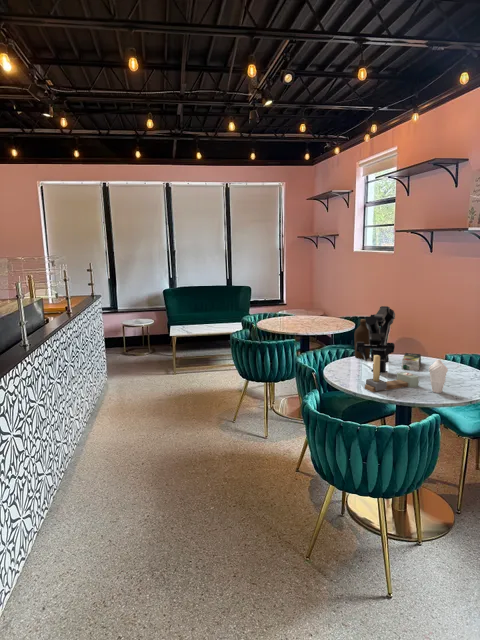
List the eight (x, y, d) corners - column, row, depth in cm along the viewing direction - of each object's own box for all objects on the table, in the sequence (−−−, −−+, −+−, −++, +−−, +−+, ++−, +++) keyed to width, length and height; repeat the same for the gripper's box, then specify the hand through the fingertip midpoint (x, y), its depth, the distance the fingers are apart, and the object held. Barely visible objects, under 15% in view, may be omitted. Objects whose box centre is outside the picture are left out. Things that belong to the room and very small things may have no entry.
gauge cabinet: (404, 381, 221) (404, 370, 221) (418, 386, 212) (418, 375, 211) (396, 382, 220) (397, 371, 219) (410, 387, 210) (410, 376, 210)
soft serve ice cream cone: (445, 395, 198) (447, 362, 196) (426, 392, 202) (427, 360, 200) (447, 390, 205) (449, 358, 203) (429, 387, 209) (430, 356, 207)
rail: (399, 383, 218) (399, 379, 218) (407, 386, 212) (407, 382, 212) (364, 388, 211) (364, 384, 210) (372, 392, 205) (372, 388, 205)
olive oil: (363, 360, 267) (364, 321, 263) (350, 357, 276) (351, 319, 272) (374, 357, 273) (375, 319, 269) (361, 354, 282) (362, 317, 278)
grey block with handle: (375, 384, 214) (376, 353, 212) (386, 389, 206) (387, 357, 204) (365, 386, 212) (366, 354, 210) (376, 390, 204) (377, 358, 202)
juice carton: (419, 371, 240) (419, 360, 239) (401, 369, 244) (401, 359, 243) (421, 363, 258) (421, 353, 257) (404, 362, 262) (404, 352, 261)
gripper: (356, 326, 219) (357, 352, 210) (394, 327, 214) (396, 353, 205) (356, 338, 227) (356, 363, 218) (392, 339, 223) (394, 365, 214)
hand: (375, 361), depth 214 cm, fingers open, 9 cm apart
